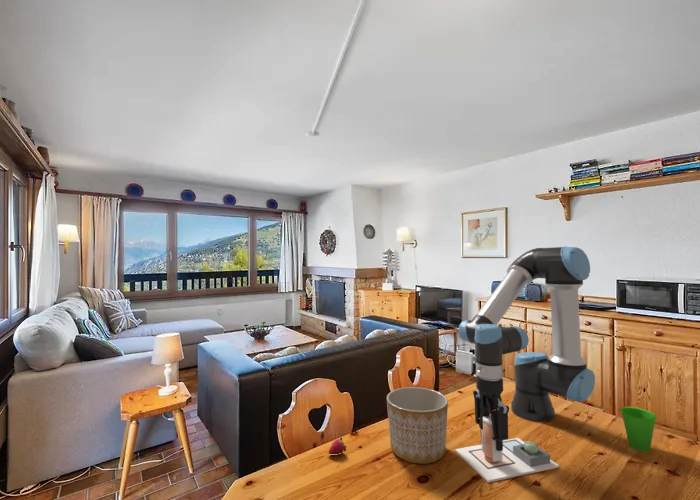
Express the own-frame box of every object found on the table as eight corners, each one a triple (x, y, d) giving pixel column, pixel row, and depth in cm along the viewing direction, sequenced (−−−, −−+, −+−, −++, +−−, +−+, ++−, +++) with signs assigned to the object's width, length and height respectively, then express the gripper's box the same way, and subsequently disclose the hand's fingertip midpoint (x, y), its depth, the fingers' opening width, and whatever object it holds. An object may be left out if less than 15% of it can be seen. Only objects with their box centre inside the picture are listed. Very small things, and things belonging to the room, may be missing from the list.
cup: (665, 457, 103) (664, 420, 104) (631, 454, 105) (630, 417, 105) (646, 441, 112) (645, 407, 112) (615, 438, 114) (613, 405, 114)
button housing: (513, 454, 105) (512, 446, 105) (531, 450, 107) (531, 442, 107) (530, 467, 98) (530, 458, 98) (550, 463, 100) (550, 454, 100)
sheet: (455, 451, 108) (455, 448, 108) (518, 439, 114) (518, 437, 114) (487, 482, 93) (487, 480, 93) (558, 467, 99) (558, 464, 99)
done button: (521, 450, 104) (521, 442, 104) (531, 448, 105) (531, 440, 105) (530, 456, 100) (530, 448, 100) (540, 454, 101) (540, 446, 101)
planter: (453, 441, 114) (452, 391, 114) (443, 475, 96) (442, 416, 97) (397, 430, 122) (396, 383, 122) (379, 459, 104) (378, 404, 105)
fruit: (325, 453, 108) (325, 437, 108) (343, 449, 110) (343, 433, 110) (329, 460, 104) (329, 443, 104) (347, 456, 106) (347, 440, 106)
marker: (480, 456, 104) (479, 416, 104) (493, 453, 105) (491, 414, 105) (490, 464, 99) (489, 423, 100) (503, 462, 100) (501, 420, 101)
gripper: (461, 369, 110) (463, 442, 109) (498, 388, 93) (501, 475, 93) (481, 366, 112) (483, 438, 111) (521, 385, 95) (524, 470, 95)
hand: (491, 455), depth 102 cm, fingers closed on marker, 4 cm apart
